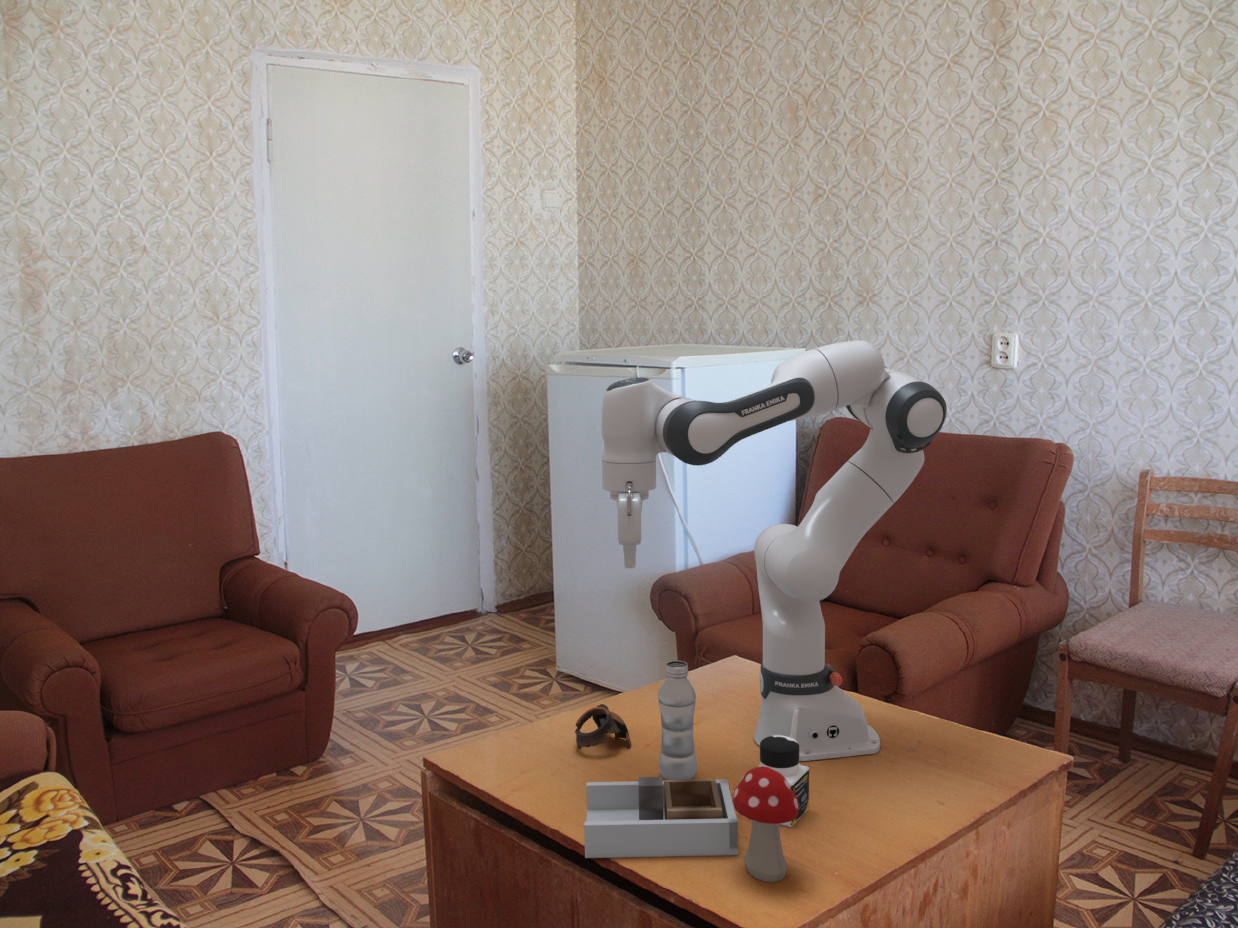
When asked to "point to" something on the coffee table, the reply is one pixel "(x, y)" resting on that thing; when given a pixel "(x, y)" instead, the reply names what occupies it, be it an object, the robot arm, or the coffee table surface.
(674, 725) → the plastic bottle
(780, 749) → the medicine bottle
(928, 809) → the coffee table surface
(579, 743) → the broken clay pot
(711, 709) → the coffee table surface
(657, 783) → the crate
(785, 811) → the decorative mushroom
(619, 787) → the bay
